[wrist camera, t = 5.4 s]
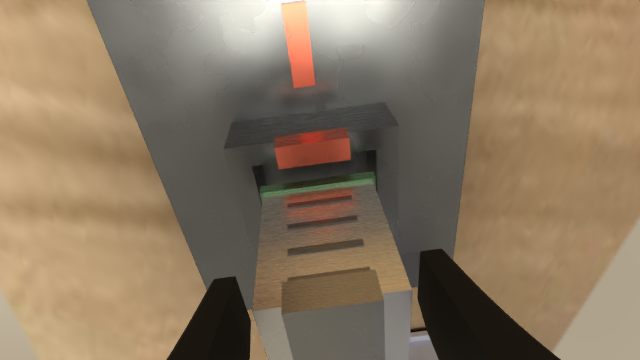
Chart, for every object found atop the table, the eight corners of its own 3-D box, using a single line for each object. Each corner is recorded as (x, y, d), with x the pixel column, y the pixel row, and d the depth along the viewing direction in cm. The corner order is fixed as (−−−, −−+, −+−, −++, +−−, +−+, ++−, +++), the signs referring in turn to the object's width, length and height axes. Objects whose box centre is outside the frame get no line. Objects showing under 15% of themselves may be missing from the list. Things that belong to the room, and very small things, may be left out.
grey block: (376, 264, 15) (419, 421, 10) (282, 277, 15) (280, 440, 10) (372, 151, 12) (430, 294, 7) (256, 167, 12) (235, 320, 7)
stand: (444, 271, 21) (473, 330, 18) (219, 301, 21) (206, 366, 18) (481, -63, 12) (549, -65, 9) (94, -12, 12) (25, 4, 9)
